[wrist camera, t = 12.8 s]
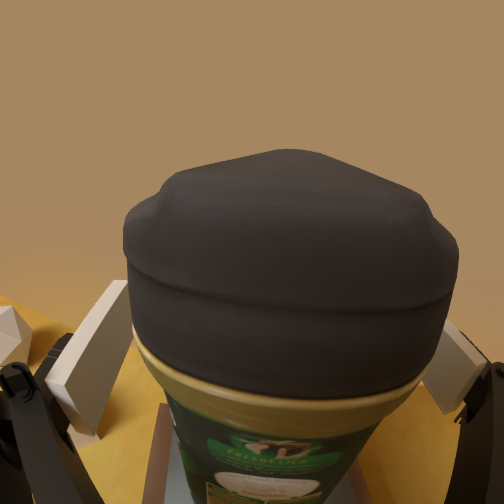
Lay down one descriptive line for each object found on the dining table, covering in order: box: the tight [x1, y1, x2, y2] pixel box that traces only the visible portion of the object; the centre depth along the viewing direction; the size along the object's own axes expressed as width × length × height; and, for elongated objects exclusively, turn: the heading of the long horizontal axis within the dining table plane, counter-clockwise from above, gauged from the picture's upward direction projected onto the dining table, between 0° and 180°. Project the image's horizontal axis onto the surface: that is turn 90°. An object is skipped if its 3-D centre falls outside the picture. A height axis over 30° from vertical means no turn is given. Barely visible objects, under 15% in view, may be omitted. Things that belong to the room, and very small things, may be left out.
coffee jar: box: [123, 149, 459, 504], centre depth 10 cm, size 10×8×19 cm
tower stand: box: [142, 403, 372, 504], centre depth 15 cm, size 16×16×6 cm
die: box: [0, 306, 33, 366], centre depth 24 cm, size 8×9×10 cm
